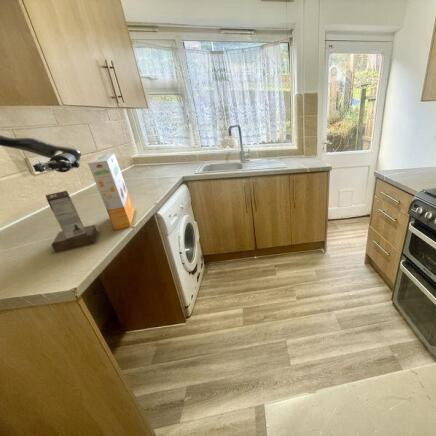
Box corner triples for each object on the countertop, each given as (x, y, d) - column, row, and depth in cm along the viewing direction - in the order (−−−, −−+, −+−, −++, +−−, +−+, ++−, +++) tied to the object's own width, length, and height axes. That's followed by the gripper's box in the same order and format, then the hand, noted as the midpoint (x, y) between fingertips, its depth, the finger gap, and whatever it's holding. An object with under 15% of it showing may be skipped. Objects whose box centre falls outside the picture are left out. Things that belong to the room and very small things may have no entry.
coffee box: (63, 232, 98) (44, 194, 92) (83, 226, 103) (66, 190, 96) (66, 239, 93) (46, 199, 86) (87, 233, 97) (69, 195, 90)
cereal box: (120, 213, 126) (98, 154, 114) (134, 210, 129) (114, 153, 116) (115, 230, 108) (87, 163, 95) (131, 227, 110) (106, 160, 98)
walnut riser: (55, 252, 91) (50, 243, 90) (62, 239, 101) (58, 231, 99) (94, 244, 97) (91, 235, 95) (98, 232, 106) (94, 224, 105)
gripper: (85, 168, 117) (79, 175, 104) (45, 172, 110) (34, 180, 97) (79, 152, 114) (72, 157, 101) (38, 155, 107) (25, 161, 94)
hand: (53, 168), depth 99 cm, fingers open, 8 cm apart
